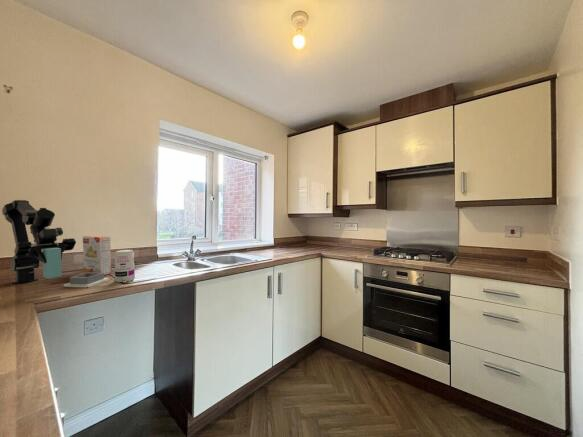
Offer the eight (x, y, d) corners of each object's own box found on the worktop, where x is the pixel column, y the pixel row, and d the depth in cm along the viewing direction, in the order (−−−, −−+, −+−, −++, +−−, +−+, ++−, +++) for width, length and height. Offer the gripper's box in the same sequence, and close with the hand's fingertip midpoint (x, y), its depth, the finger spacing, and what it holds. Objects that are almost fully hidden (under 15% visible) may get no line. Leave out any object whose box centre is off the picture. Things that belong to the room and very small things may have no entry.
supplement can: (131, 277, 131) (130, 248, 131) (137, 280, 126) (136, 250, 126) (112, 280, 125) (112, 251, 124) (118, 284, 120) (117, 253, 119)
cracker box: (83, 273, 138) (82, 235, 137) (95, 271, 143) (94, 234, 142) (100, 276, 133) (99, 237, 132) (111, 273, 138) (110, 235, 137)
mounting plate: (63, 286, 115) (63, 278, 115) (86, 279, 127) (86, 271, 127) (88, 287, 115) (88, 278, 114) (109, 279, 127) (109, 272, 126)
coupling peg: (43, 277, 106) (42, 249, 106) (57, 274, 110) (56, 247, 110) (47, 278, 104) (46, 250, 104) (61, 276, 108) (60, 248, 108)
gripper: (15, 223, 100) (27, 253, 95) (73, 220, 116) (86, 246, 112) (9, 241, 104) (20, 270, 99) (66, 236, 121) (78, 262, 116)
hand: (53, 261), depth 106 cm, fingers closed on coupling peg, 4 cm apart
